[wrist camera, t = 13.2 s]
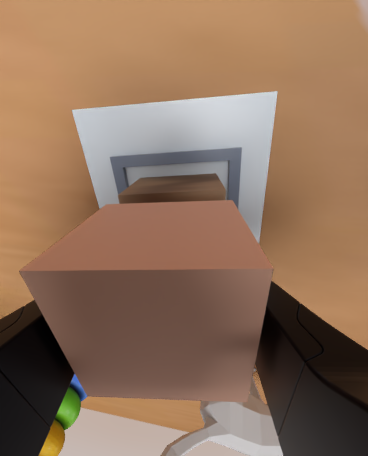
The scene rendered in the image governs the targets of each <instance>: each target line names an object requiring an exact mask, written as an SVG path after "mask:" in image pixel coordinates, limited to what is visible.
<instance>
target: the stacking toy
mask: <svg viewBox="0 0 368 456" xmlns="http://www.w3.org/2000/svg"><path fill="white" fill-rule="evenodd" d="M86 397H87V395H86V393H85V391H84V389H83V388H82V386H81V384H80V382H79V380H78V378H77V377H76V375H75V374H74V376H73V378H72V381H71V383H70V385H69V388H68V390H67V392H66V394H65V397H64V399H63V401H62V403H61V406H60V408H59V410H58V413H57V415H56V417H55V419H54V422H53V424H52V426H51V427H50V431H49V433H48V436H47V438H46V440H45V442H44V445H43V447H42V449H41V452H40V454H39V456H58V454H59V453H60V451H61V449H62V447H63V444H64V441H65V433H64V430H66V429H68V428H69V427H70V426H71V425H72V424H73V423H74V422H75V420H76V419H77V417H78V415H79V412H80V407H81V401H83V400H84V399H85V398H86Z"/></svg>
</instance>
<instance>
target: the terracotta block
mask: <svg viewBox="0 0 368 456" xmlns="http://www.w3.org/2000/svg"><path fill="white" fill-rule="evenodd" d="M19 272H20V274H21V276H22V278H23V279H24V281H25V283H26V285H27V287H28V289H29V290H30V292H31V294H32V296H33V298H34V300H35V301H36V303H37V305H38V307H39V309H40V311H41V312H42V314H43V316H44V318H45V320H46V322H47V323H48V325H49V327H50V329H51V331H52V333H53V334H54V336H55V338H56V340H57V342H58V344H59V345H60V347H61V349H62V351H63V353H64V355H65V356H66V358H67V360H68V362H69V364H70V366H71V367H72V369H73V371H74V373H75V375H76V377H77V378H78V380H79V382H80V384H81V386H82V388H83V389H84V391H85V393H86V395H87V396H92V397H118V398H144V399H170V400H196V401H222V402H248V397H249V392H250V387H251V382H252V376H253V371H254V366H255V361H256V356H257V351H258V346H259V341H260V335H261V330H262V325H263V320H264V315H265V310H266V305H267V300H268V295H269V289H270V284H271V279H272V274H273V267H272V265H271V264H270V262H269V260H268V259H267V257H266V255H265V254H264V252H263V250H262V249H261V247H260V245H259V244H258V242H257V240H256V239H255V237H254V235H253V234H252V232H251V230H250V229H249V227H248V225H247V224H246V222H245V220H244V219H243V217H242V215H241V214H240V212H239V210H238V208H237V207H236V205H235V203H234V202H233V200H218V201H188V202H158V203H129V204H106V205H105V206H103V207H102V208H101V209H99V210H98V211H97V212H95V213H94V214H93V215H92V216H90V217H89V218H88V219H86V220H85V221H84V222H82V223H81V224H80V225H78V226H77V227H76V228H75V229H73V230H72V231H71V232H69V233H68V234H67V235H65V236H64V237H63V238H61V239H60V240H59V241H58V242H56V243H55V244H54V245H52V246H51V247H50V248H48V249H47V250H46V251H44V252H43V253H42V254H40V255H39V256H38V257H37V258H35V259H34V260H33V261H31V262H30V263H29V264H27V265H26V266H25V267H23V268H22V269H21V270H20V271H19Z"/></svg>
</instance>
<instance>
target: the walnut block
mask: <svg viewBox="0 0 368 456" xmlns="http://www.w3.org/2000/svg"><path fill="white" fill-rule="evenodd" d="M118 199H119V204H129V203H158V202H188V201H218V200H226V189H225V187H224V186H223V184H222V182H221V181H220V179H219V177H218V176H217V174H216V173H213V174H196V175H179V176H162V177H145V178H139V179H138V180H137V181H136V182H134V183H133V184H132V185H130V186H129V187H128V188H126V189H125V190H124V191H122V192H121V193H120V194H119V195H118Z"/></svg>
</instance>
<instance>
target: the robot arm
mask: <svg viewBox="0 0 368 456" xmlns="http://www.w3.org/2000/svg"><path fill="white" fill-rule="evenodd" d="M255 364H256V368H257V371H258V374H259V377H260V381H261V384H262V387H263V391H264V394H265V397H266V400H267V404H268V407H269V410H270V413H271V417H272V420H273V423H274V427H275V430H276V433H277V436H278V440H279V443H280V447H281V450H282V453H283V456H368V350H367V349H365V348H364V347H362V346H361V345H359V344H358V343H356V342H355V341H353V340H352V339H350V338H349V337H347V336H346V335H344V334H343V333H341V332H340V331H338V330H337V329H335V328H334V327H333V326H331V325H330V324H328V323H327V322H325V321H324V320H322V319H321V318H320V317H318V316H317V315H316V314H314V313H313V312H312V311H310V310H309V309H308V308H306V307H305V306H304V305H302V304H300V302H298V301H297V300H296V299H295V298H293V297H292V296H291V295H289V294H288V293H287V292H286V291H284V290H283V289H282V288H280V287H279V286H278V285H277V284H275V283H274V282H273V281H271V284H270V289H269V295H268V300H267V305H266V310H265V315H264V320H263V325H262V330H261V335H260V341H259V346H258V351H257V356H256V361H255ZM74 374H75V373H74V371H73V369H72V367H71V366H70V364H69V362H68V360H67V358H66V356H65V355H64V353H63V351H62V349H61V347H60V345H59V344H58V342H57V340H56V338H55V336H54V334H53V333H52V331H51V329H50V327H49V325H48V323H47V322H46V320H45V318H44V316H43V314H42V312H41V311H40V309H39V307H38V305H37V303H36V301H35V300H33V301H32V302H30V303H28V304H26V305H25V306H23V307H21V308H19V309H18V310H16V311H14V312H13V313H11V314H9V315H7V316H5V317H4V318H2V319H0V456H39V454H40V452H41V449H42V447H43V445H44V442H45V440H46V438H47V436H48V433H49V431H50V427H51V426H52V424H53V422H54V419H55V417H56V415H57V413H58V410H59V408H60V406H61V403H62V401H63V399H64V397H65V394H66V392H67V390H68V388H69V385H70V383H71V381H72V378H73V376H74Z"/></svg>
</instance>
